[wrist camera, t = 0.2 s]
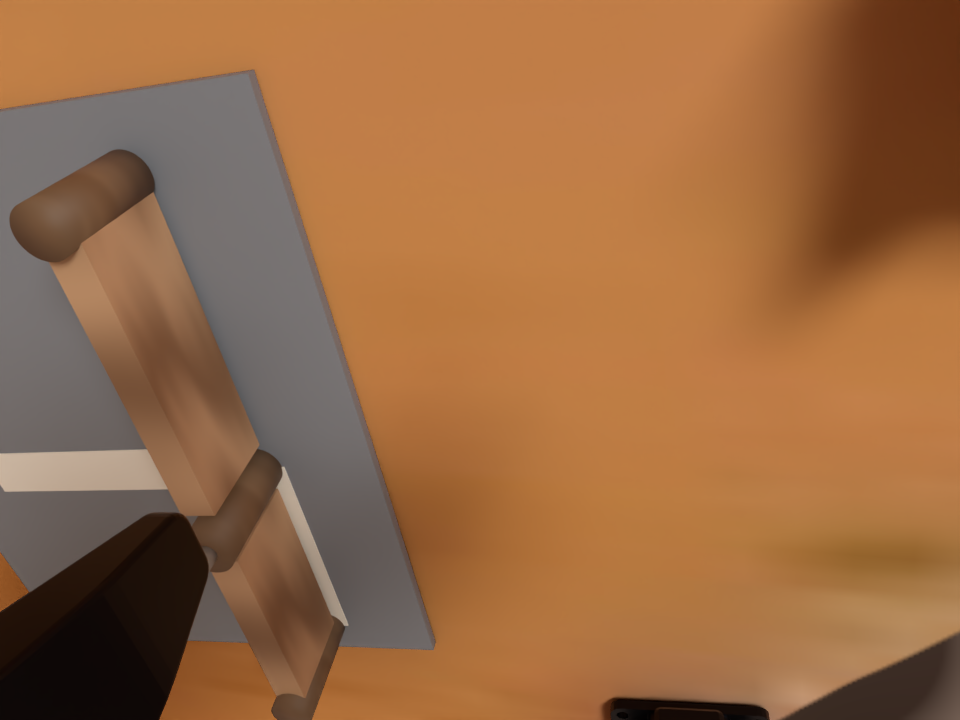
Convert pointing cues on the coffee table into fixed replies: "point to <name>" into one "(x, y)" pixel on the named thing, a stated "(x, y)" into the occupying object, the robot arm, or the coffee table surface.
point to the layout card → (239, 335)
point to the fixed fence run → (272, 588)
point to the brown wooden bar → (143, 323)
